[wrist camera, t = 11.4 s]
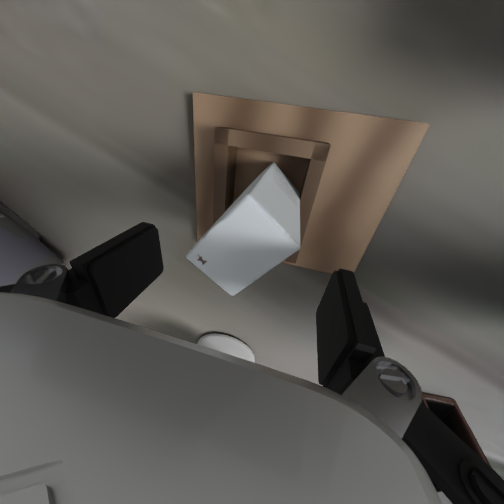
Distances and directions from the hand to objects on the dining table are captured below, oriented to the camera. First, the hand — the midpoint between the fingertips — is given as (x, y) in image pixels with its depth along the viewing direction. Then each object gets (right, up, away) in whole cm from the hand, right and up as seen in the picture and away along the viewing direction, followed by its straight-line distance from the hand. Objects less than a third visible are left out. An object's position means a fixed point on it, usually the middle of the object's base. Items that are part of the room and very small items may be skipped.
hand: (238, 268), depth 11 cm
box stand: (+4, +7, +12) cm, 14 cm away
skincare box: (+2, +7, +11) cm, 13 cm away
